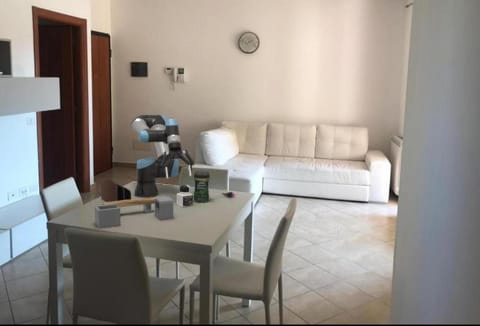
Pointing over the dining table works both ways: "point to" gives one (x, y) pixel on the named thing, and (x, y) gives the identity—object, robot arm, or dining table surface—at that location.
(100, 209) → the frame
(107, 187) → the letter holder
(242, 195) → the dining table surface
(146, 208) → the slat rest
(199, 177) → the coffee jar
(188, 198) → the medicine bottle
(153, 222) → the dining table surface
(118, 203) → the slat
